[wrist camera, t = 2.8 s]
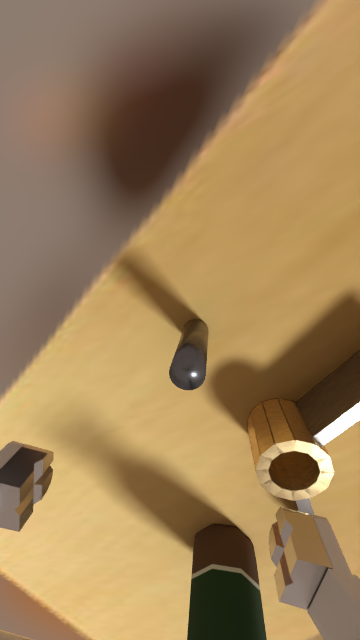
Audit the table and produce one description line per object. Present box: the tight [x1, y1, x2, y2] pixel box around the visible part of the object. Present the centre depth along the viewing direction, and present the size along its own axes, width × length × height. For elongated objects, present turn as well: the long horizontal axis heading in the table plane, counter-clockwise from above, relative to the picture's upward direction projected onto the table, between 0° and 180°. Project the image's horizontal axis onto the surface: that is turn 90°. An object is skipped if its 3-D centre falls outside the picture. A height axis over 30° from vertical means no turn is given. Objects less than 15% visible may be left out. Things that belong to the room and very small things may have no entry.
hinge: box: [247, 350, 360, 515], centre depth 24 cm, size 21×15×6 cm
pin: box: [169, 319, 208, 390], centre depth 22 cm, size 2×2×9 cm
